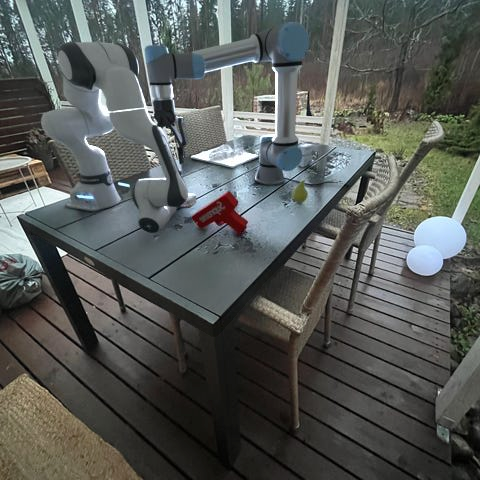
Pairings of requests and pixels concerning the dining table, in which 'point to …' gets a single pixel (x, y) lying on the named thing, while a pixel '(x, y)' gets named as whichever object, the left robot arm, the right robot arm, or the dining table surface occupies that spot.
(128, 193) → the dining table surface
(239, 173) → the dining table surface
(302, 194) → the fruit
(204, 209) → the toy gun
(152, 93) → the right robot arm
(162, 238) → the dining table surface
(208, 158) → the relief map
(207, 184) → the dining table surface
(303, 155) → the ink box
